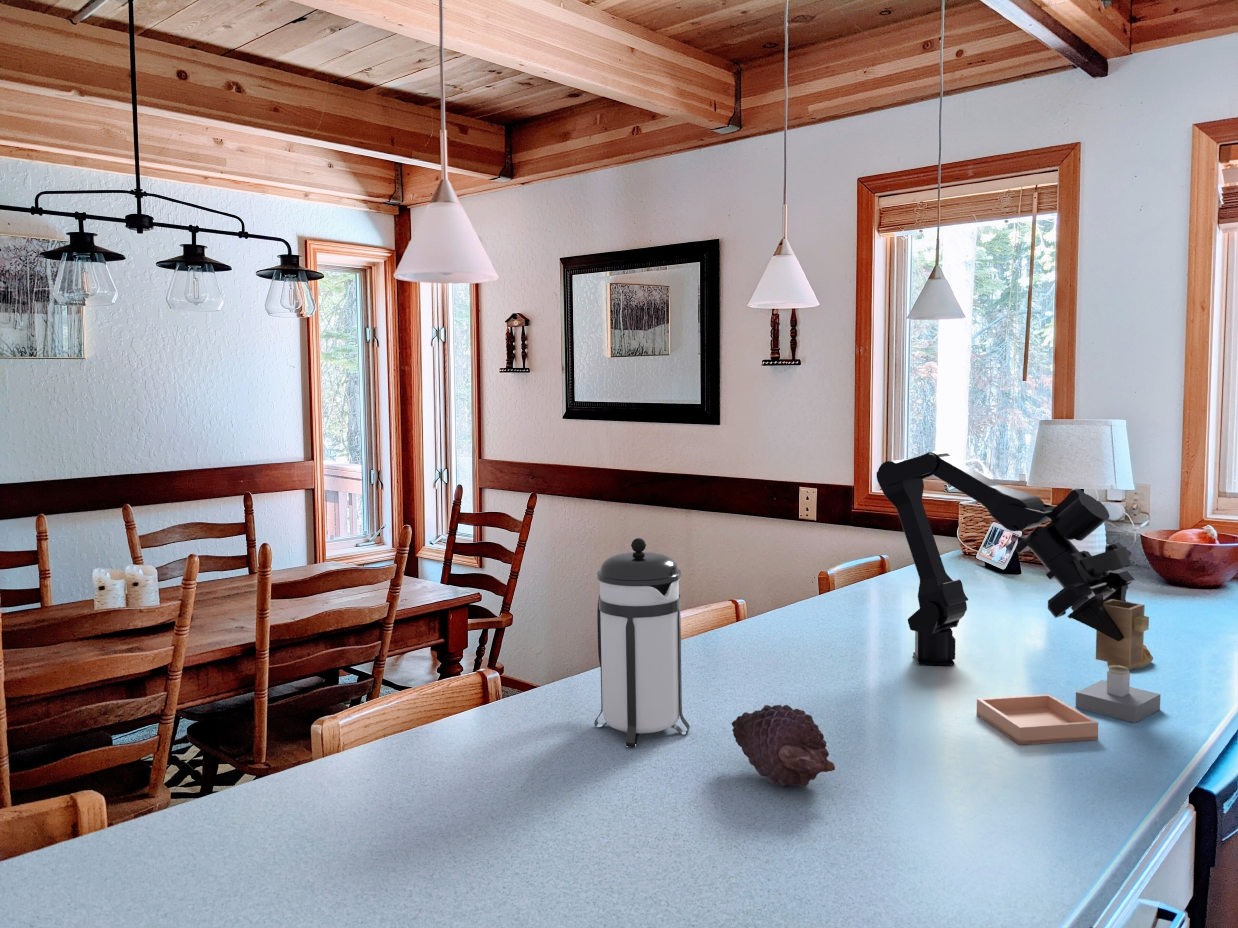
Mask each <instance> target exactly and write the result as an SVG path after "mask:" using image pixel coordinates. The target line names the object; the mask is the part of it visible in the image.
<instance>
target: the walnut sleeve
mask: <svg viewBox="0 0 1238 928" xmlns="http://www.w3.org/2000/svg"><path fill="white" fill-rule="evenodd" d="M1103 606H1104V608H1105V610H1106V611H1107V612H1108V614H1109V615H1110V617H1111V618H1112V619H1113V621H1114V622H1115V624H1116V625H1117V627H1118V628H1119V630H1120V631H1121V633H1122V634H1123V636H1124V638H1123V639H1122V640H1120V641H1116V640H1115V639H1113V638H1111V637H1109V636H1107V635H1105V634H1103V633H1101V632H1099V631H1097V630H1095V631H1096V632H1095V633H1096V636H1095V637H1096V638H1095V639H1096V640H1095V660H1097V661H1102V662H1110V663H1115V664H1119V665H1124V666H1128V667H1129V666H1131V665H1133V664H1136V663H1138V662H1140V661H1142V660H1143V644H1144V639H1145V638H1144V637H1145V636H1144V633H1145V631H1149V629H1150V627H1149V625H1150V624H1149V623H1150V617H1149V616H1146V615H1145V604H1143V603H1136V602H1131V601H1120V600H1114V599H1110V600H1108V601H1105V602H1103Z"/></svg>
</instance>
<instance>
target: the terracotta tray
mask: <svg viewBox="0 0 1238 928" xmlns="http://www.w3.org/2000/svg"><path fill="white" fill-rule="evenodd" d="M976 715H977V716H978V717H979V718H981V720H983V721H985V722H987V724H989V725H990V726H992V727H993V728H995V729H997V730H998V731H999V732H1000V733H1002V734H1003V735H1004V736H1006V737H1007V738H1009V739H1010V740H1012V741H1013V742H1014V743H1016V744H1017V745H1019V746H1027V745H1039V744H1042V745H1043V744H1055V743H1056V744H1057V743H1069V742H1070V743H1071V742H1072V743H1073V742H1084V741H1098V740H1099V722H1098V721H1096V720H1095V719H1093V718H1091V717H1089V716H1088V715H1086V714H1084V713H1082V712H1081V711H1079V710H1077V709H1076V708H1074V707H1073V706H1070V705H1069V704H1067V703H1065V702H1063V701H1062V700H1059V699H1058V698H1056V697H1054V696H1053V695H1052V694H1050V693H1049V694H1036V695H1034V694H1033V695H1030V694H1029V695H1017V696H1000V697H985V698H984V697H983V698H982V697H981V698H977V699H976Z"/></svg>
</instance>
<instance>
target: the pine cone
mask: <svg viewBox="0 0 1238 928" xmlns="http://www.w3.org/2000/svg"><path fill="white" fill-rule="evenodd" d="M762 707H763V708H761V710H760V709H758V710H754V711H753V712H751V713H749V712H747V711H745V712H743V713H742V714H741V715H739V716H737V717H736V719H735V720H733V721H732V722H731V727H732V735H733V738H735V742H736V744H737V745H738V747H740V748H741V750H742V753H743V754H744V755H745V757H747V758H748V761H749V764H750V765H751V766H753V767H754V769H755V770H756V772H757V774H758V775H760V777H766V779H767V780H768V782H769V783H771V784H777V783H778V784H780V785H781V786H783V787H784V786H787V785H790V786H793V785H794V787H797V786H801V787H807V785H809V783H810V781H814V780H815V779H816V778H817V776H818V774H819V773H827V772H834V771H835V770H836V766H835V763H834V762H832V761H830V760H828V757H829V756H830V752H829V751H828V749H827V748H826V747H827V745H828V744H827V741H826V740H825V737H824V734H823V733H822V731H821V730H820V729H819V725H818V724H817V723H815V722H814V719H813V716H812V714H808V713H806V711H805V710H802V709H799V708H794V709H793V708H792V707H791V706H790V705H789V704H784V705H781V704H776V705H773V706H771V705H768V704H765V705H763V706H762Z"/></svg>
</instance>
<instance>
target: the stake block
mask: <svg viewBox="0 0 1238 928" xmlns="http://www.w3.org/2000/svg"><path fill="white" fill-rule="evenodd" d="M1106 672H1107V673H1106V680H1103V679H1101V680H1100V681H1098V682H1095V683H1092V684H1090V685H1088V686H1086V687H1084V688H1081V689H1080V690H1077V691H1076V692H1075V708H1077V709H1081V710H1084V711H1088V712H1092V713H1096V714H1100V715H1103V716H1107V717H1110V718H1115V719H1117V720H1118V719H1119V720H1122V721H1126V722H1129V723H1133V724H1136V723H1138V722H1140V721H1142V720H1143V719H1146V718H1147V717H1149V716H1151V715H1153V714H1154V713H1156V712H1158V711H1160V710H1161V693H1157V692H1153V691H1149V690H1145V689H1140V688H1137V687H1132V686H1130V683H1131V678H1130V677H1131V672H1130V670H1129V669H1128V668H1126V667H1123V666H1117V665H1112V666H1109V665H1108V670H1107V671H1106Z"/></svg>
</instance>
